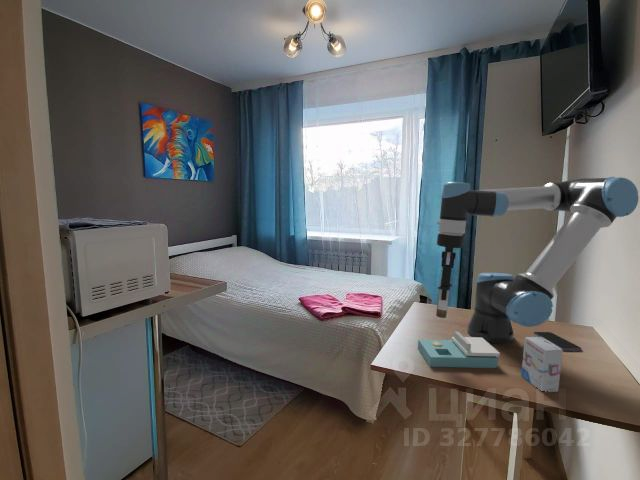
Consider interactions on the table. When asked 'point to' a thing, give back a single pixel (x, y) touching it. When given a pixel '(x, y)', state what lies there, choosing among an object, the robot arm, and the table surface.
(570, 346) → the smartphone
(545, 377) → the ink box
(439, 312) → the peg
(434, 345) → the board
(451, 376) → the table surface
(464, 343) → the cover
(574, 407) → the table surface
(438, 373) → the table surface
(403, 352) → the table surface
